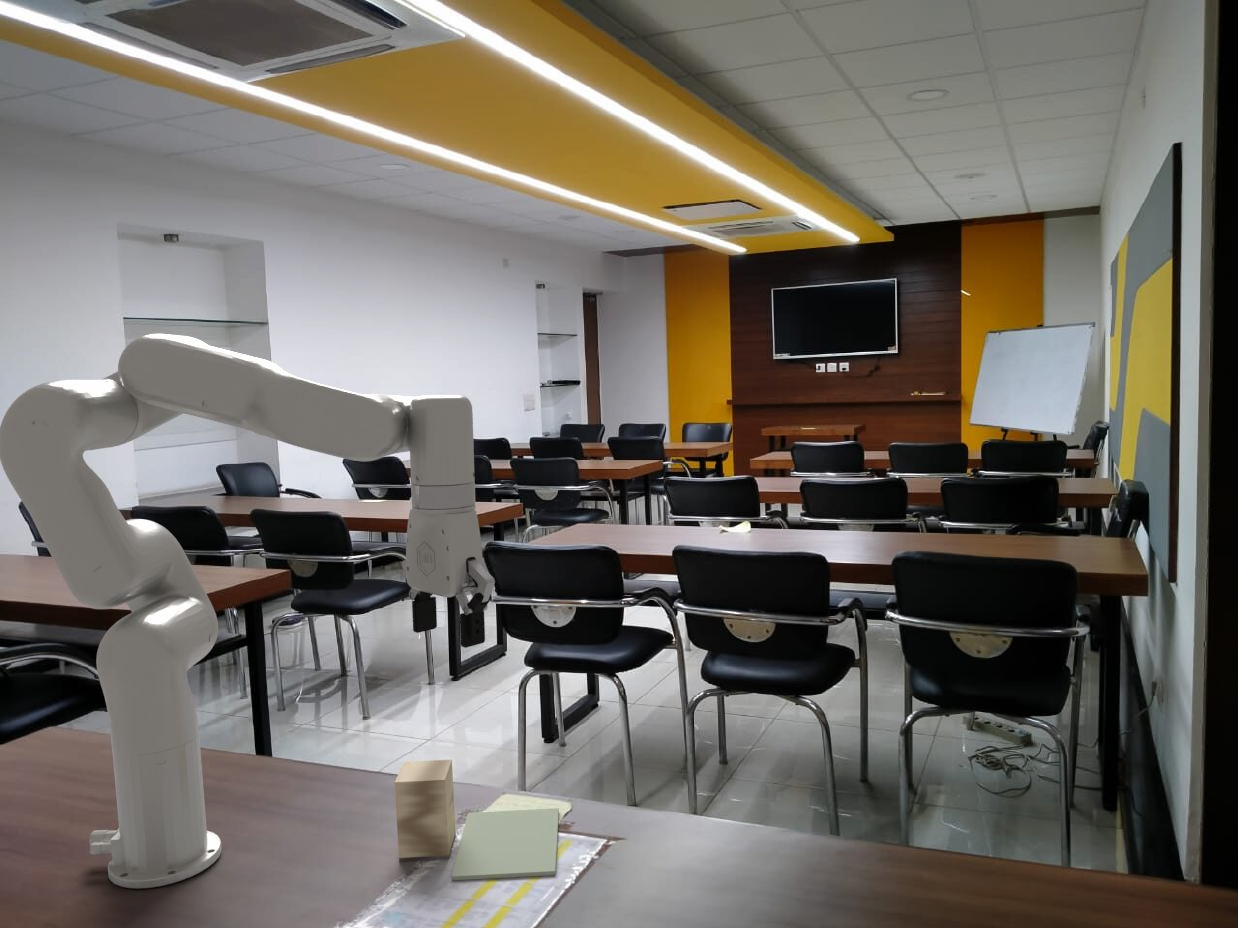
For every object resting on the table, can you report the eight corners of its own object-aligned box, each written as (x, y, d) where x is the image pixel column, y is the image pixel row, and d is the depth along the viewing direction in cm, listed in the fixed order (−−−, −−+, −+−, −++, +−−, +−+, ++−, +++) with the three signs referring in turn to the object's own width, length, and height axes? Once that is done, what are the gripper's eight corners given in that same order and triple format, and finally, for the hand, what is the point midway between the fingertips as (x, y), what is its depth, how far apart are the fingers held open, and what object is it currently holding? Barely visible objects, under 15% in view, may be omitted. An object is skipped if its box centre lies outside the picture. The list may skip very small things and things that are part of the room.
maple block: (399, 861, 114) (394, 782, 113) (408, 837, 120) (403, 761, 119) (449, 859, 114) (444, 779, 114) (455, 835, 120) (451, 759, 119)
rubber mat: (451, 880, 110) (451, 876, 109) (468, 816, 125) (468, 812, 125) (555, 874, 110) (555, 870, 110) (558, 811, 126) (558, 808, 126)
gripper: (377, 495, 117) (382, 631, 118) (461, 507, 105) (466, 658, 106) (428, 489, 122) (432, 619, 124) (514, 500, 110) (518, 644, 112)
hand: (448, 637), depth 115 cm, fingers open, 9 cm apart
